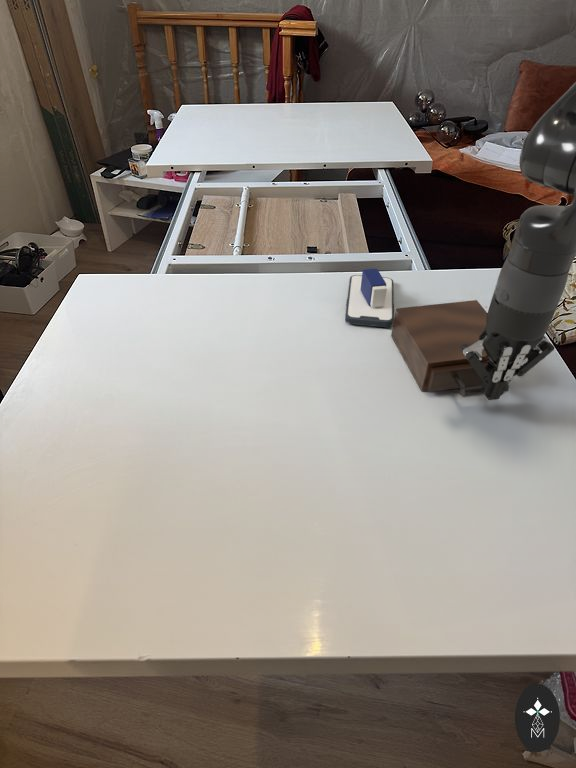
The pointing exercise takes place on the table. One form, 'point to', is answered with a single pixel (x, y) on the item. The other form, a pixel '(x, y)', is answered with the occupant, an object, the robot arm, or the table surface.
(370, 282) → the eraser
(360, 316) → the phone case
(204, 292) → the table surface
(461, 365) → the drawer
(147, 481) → the table surface
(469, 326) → the cabinet
